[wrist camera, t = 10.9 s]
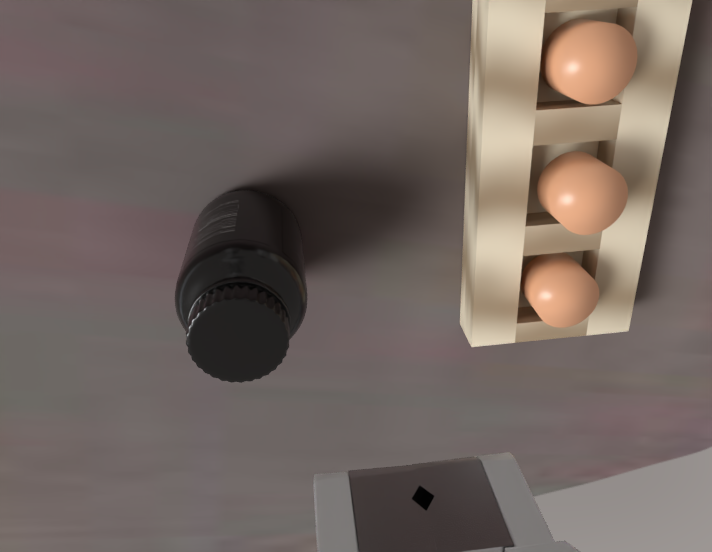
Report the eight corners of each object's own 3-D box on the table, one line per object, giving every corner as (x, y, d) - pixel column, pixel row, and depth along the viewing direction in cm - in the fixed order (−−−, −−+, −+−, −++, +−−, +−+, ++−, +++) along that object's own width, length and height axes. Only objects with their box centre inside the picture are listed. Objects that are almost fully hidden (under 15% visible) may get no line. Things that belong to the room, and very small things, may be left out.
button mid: (540, 153, 35) (561, 169, 32) (607, 148, 35) (633, 163, 32) (534, 218, 36) (553, 237, 34) (597, 212, 37) (621, 231, 34)
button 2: (543, 20, 32) (566, 25, 30) (614, 16, 33) (643, 20, 30) (536, 96, 34) (557, 107, 32) (604, 91, 35) (630, 101, 32)
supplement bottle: (196, 284, 39) (164, 401, 29) (191, 184, 36) (153, 274, 26) (301, 286, 40) (307, 400, 30) (305, 189, 37) (313, 277, 27)
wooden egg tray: (473, -18, 33) (489, -17, 30) (665, -29, 34) (697, -28, 31) (459, 323, 43) (471, 346, 40) (607, 309, 44) (628, 331, 41)
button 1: (522, 253, 39) (540, 274, 36) (582, 248, 39) (603, 268, 37) (517, 306, 41) (534, 330, 38) (574, 301, 41) (594, 324, 38)
